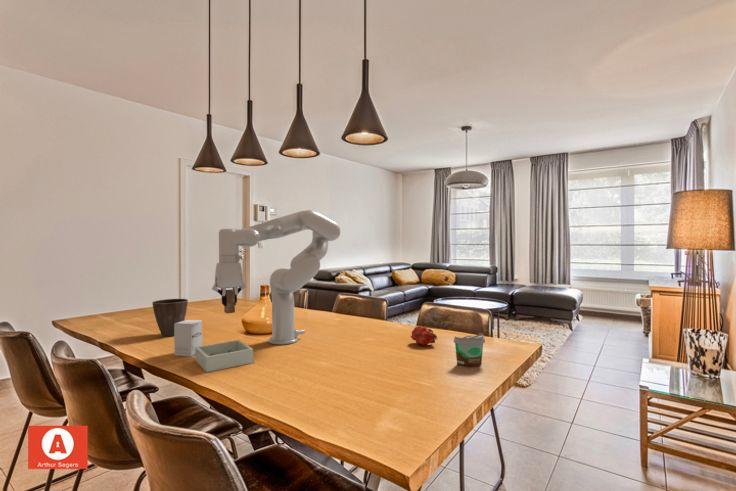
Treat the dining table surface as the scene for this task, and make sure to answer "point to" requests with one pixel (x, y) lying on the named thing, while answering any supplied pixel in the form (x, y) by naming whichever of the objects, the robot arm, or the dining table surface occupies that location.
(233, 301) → the walnut timber post
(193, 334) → the supplement box
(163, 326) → the plant pot
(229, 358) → the pale green tray
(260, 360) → the dining table surface
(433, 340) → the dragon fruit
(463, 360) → the food container
